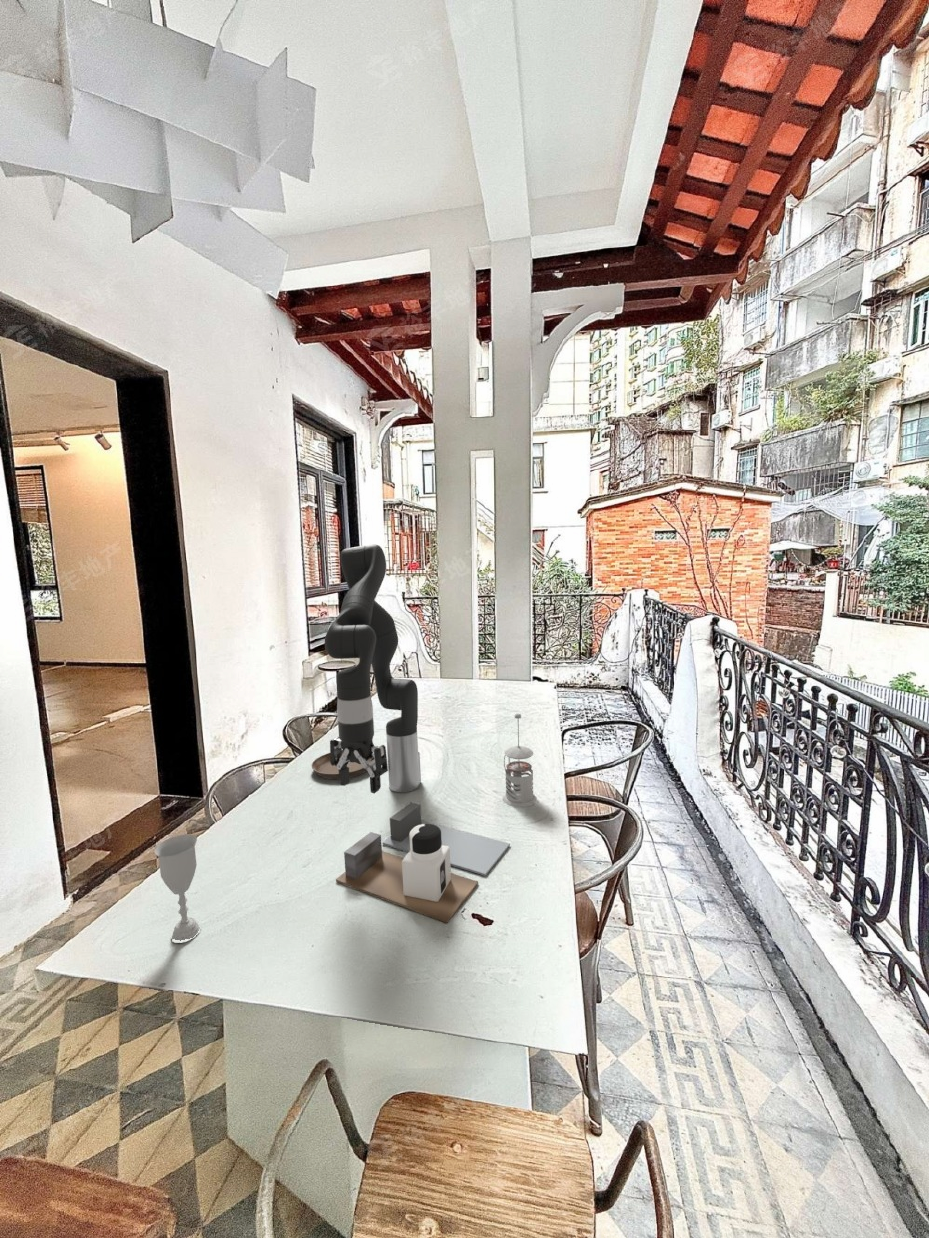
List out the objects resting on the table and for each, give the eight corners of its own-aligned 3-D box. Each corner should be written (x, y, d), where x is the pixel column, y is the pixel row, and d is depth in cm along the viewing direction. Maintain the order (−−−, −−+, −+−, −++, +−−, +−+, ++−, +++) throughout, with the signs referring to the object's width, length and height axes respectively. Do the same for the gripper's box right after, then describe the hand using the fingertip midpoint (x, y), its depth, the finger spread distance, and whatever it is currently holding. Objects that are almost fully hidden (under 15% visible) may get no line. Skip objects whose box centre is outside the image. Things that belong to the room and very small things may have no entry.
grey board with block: (413, 819, 136) (412, 797, 135) (509, 845, 122) (509, 821, 122) (382, 844, 125) (381, 821, 124) (485, 875, 111) (484, 850, 110)
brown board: (374, 850, 122) (372, 826, 121) (478, 883, 109) (477, 857, 108) (335, 881, 111) (334, 855, 110) (446, 922, 97) (445, 893, 97)
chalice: (176, 921, 100) (166, 835, 98) (212, 918, 101) (203, 832, 99) (157, 950, 93) (146, 858, 91) (196, 946, 94) (186, 855, 91)
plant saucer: (298, 778, 165) (297, 768, 165) (337, 754, 184) (336, 745, 184) (352, 787, 157) (352, 776, 157) (387, 761, 176) (386, 752, 176)
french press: (514, 810, 139) (512, 721, 136) (492, 793, 150) (490, 710, 146) (544, 801, 144) (542, 715, 141) (521, 785, 154) (519, 704, 151)
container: (451, 879, 110) (449, 822, 108) (438, 903, 102) (435, 842, 101) (418, 873, 112) (415, 817, 110) (403, 895, 105) (399, 836, 103)
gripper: (392, 715, 111) (396, 787, 113) (342, 708, 118) (346, 775, 120) (370, 726, 104) (374, 802, 106) (318, 717, 111) (323, 788, 113)
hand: (359, 787), depth 113 cm, fingers open, 8 cm apart
